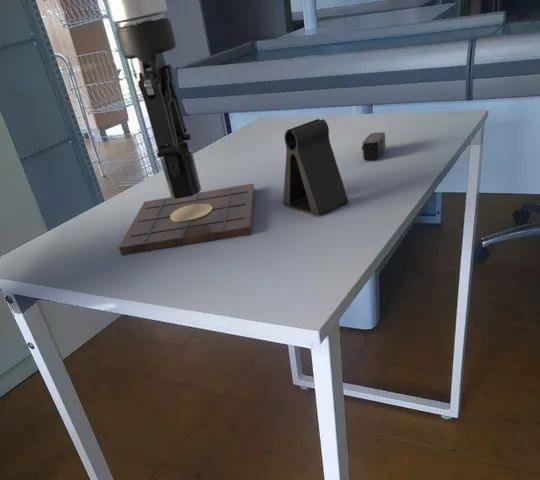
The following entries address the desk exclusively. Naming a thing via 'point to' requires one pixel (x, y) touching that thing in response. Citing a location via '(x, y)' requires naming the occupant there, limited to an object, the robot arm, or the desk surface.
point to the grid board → (191, 219)
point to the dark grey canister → (190, 171)
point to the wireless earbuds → (373, 146)
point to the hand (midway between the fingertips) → (186, 190)
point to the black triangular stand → (312, 170)
